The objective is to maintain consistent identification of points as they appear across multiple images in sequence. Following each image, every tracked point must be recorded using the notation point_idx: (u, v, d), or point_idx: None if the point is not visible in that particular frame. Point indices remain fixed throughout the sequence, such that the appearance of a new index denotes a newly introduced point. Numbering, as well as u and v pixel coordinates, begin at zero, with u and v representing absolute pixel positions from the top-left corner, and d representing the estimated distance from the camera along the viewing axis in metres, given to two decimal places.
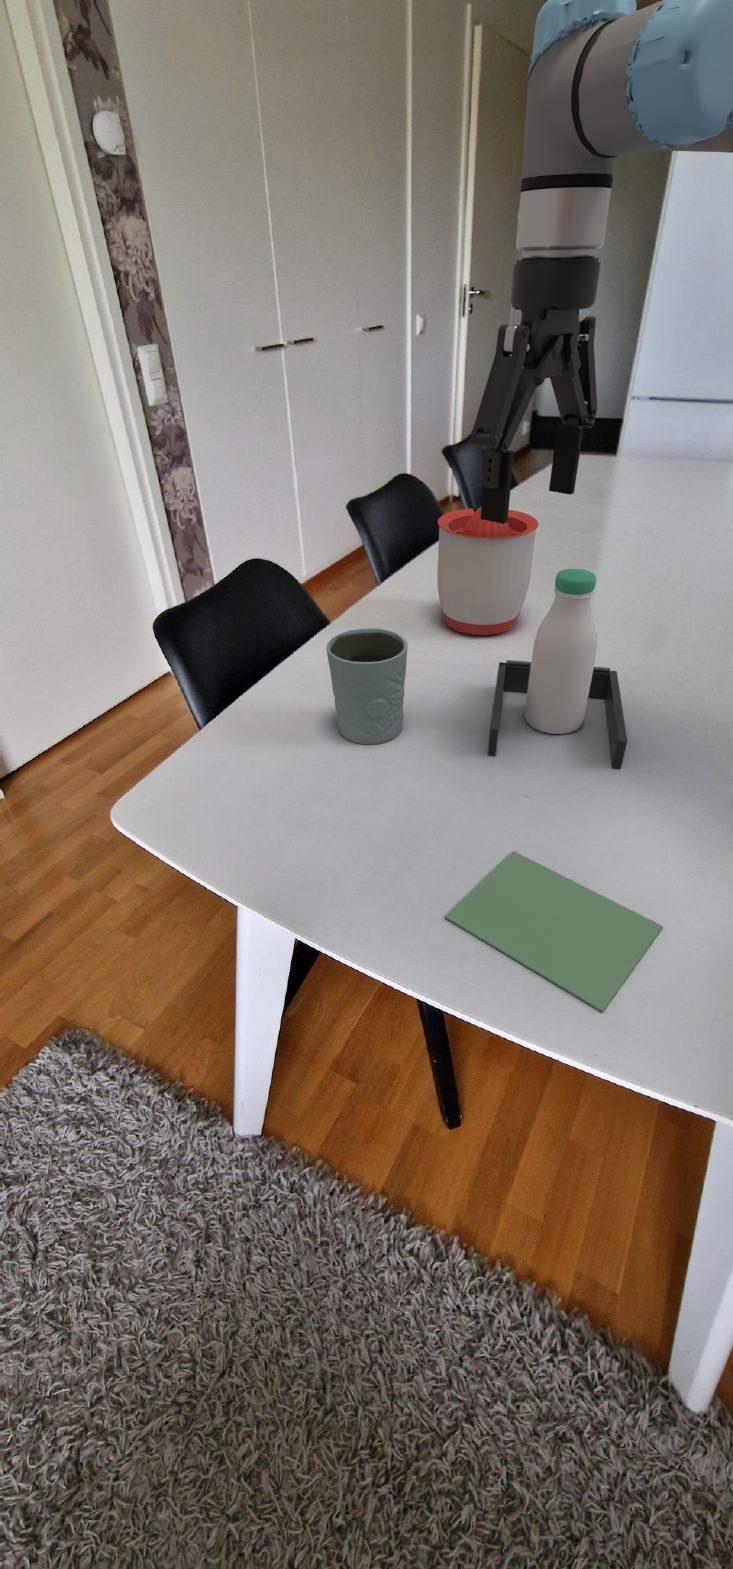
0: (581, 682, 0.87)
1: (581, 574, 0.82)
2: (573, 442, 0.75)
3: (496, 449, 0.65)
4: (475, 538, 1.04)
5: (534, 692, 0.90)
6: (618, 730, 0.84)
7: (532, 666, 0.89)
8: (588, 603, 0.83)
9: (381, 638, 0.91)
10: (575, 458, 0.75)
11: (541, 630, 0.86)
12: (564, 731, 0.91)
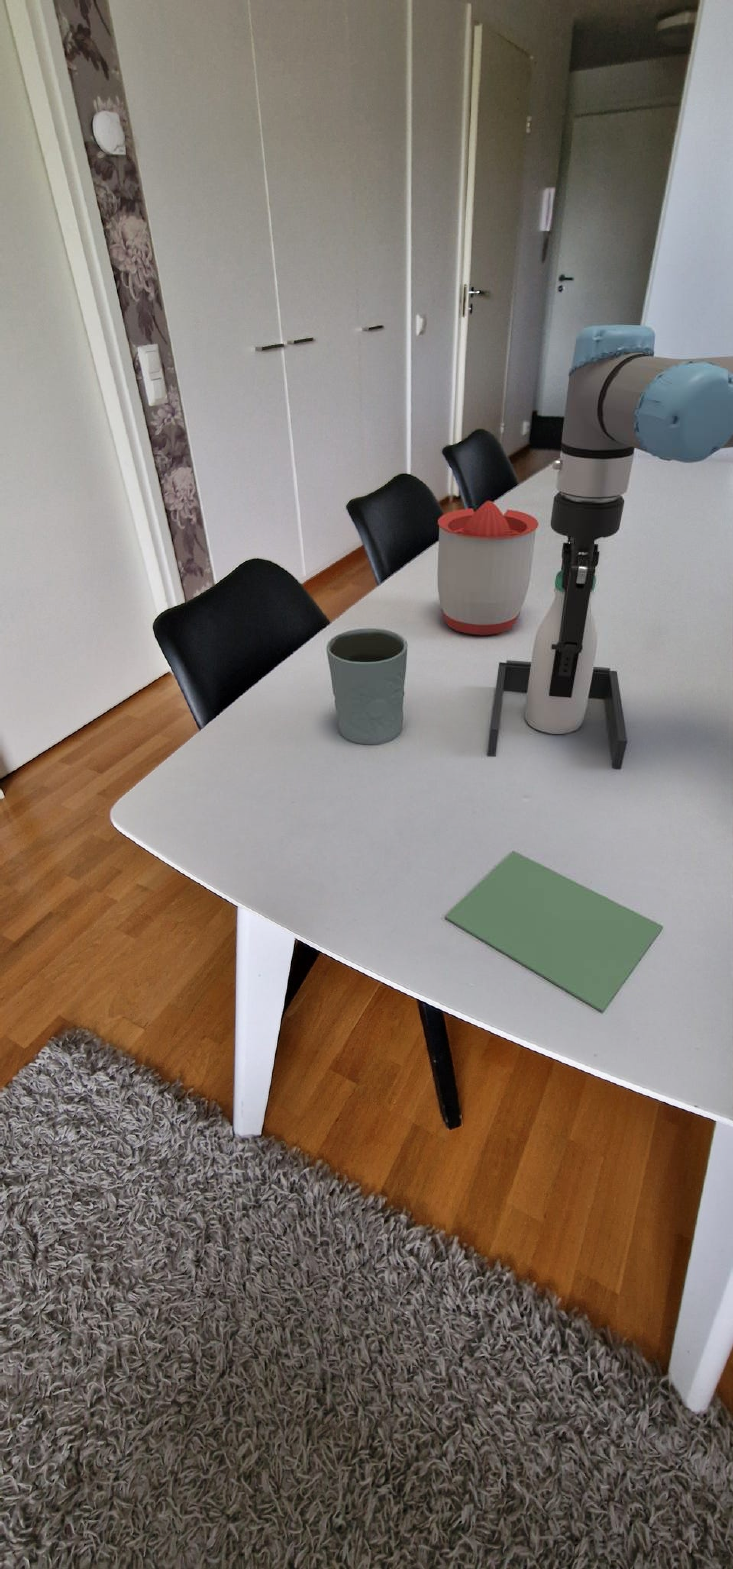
0: (581, 682, 0.87)
1: None
2: None
3: None
4: (475, 538, 1.04)
5: (534, 692, 0.90)
6: (618, 730, 0.84)
7: (532, 666, 0.89)
8: None
9: (381, 638, 0.91)
10: None
11: (541, 630, 0.86)
12: (564, 731, 0.91)
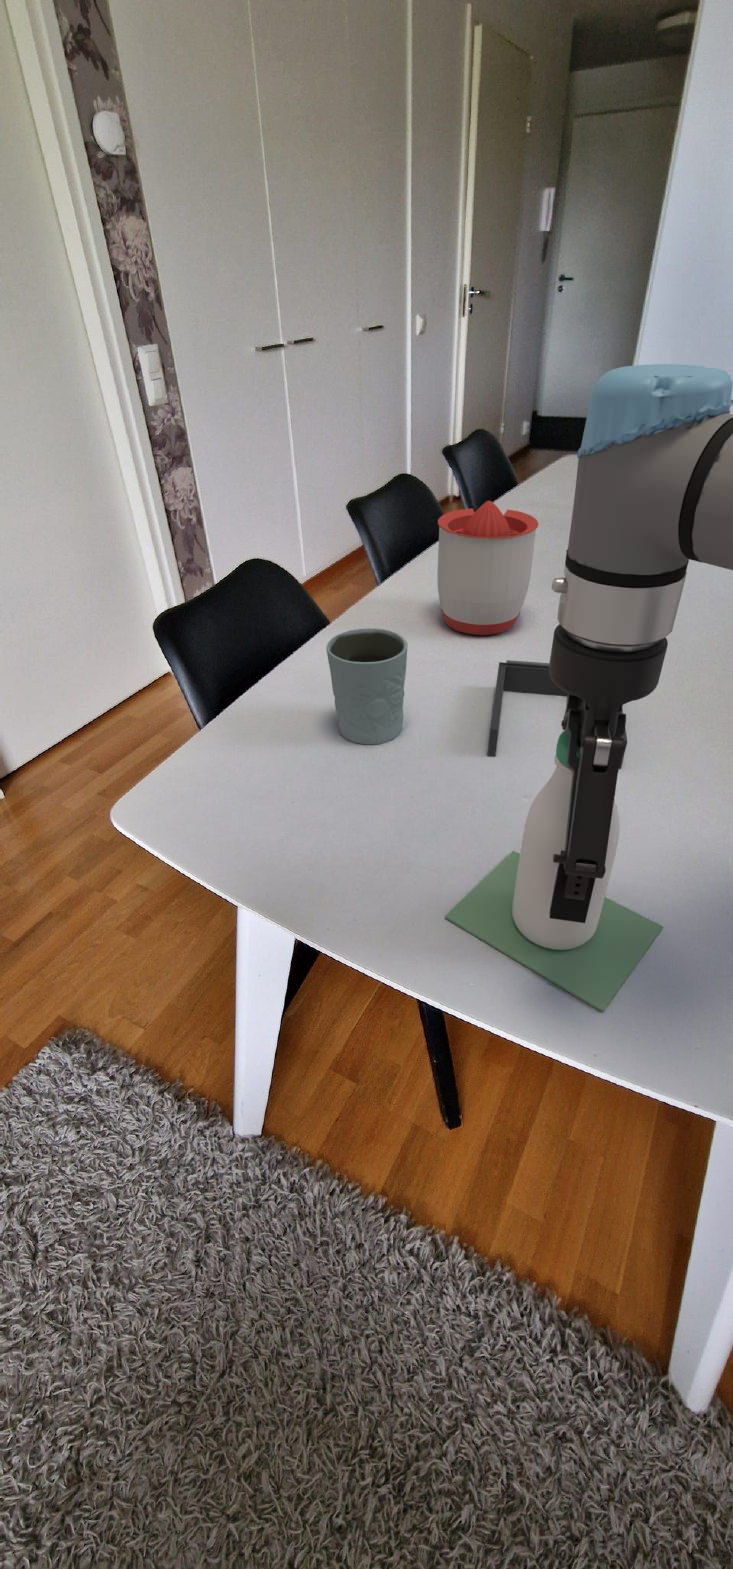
0: (595, 888, 0.58)
1: None
2: None
3: None
4: (475, 538, 1.04)
5: (525, 893, 0.61)
6: None
7: (522, 857, 0.60)
8: None
9: (381, 638, 0.91)
10: None
11: (535, 813, 0.57)
12: (569, 947, 0.62)
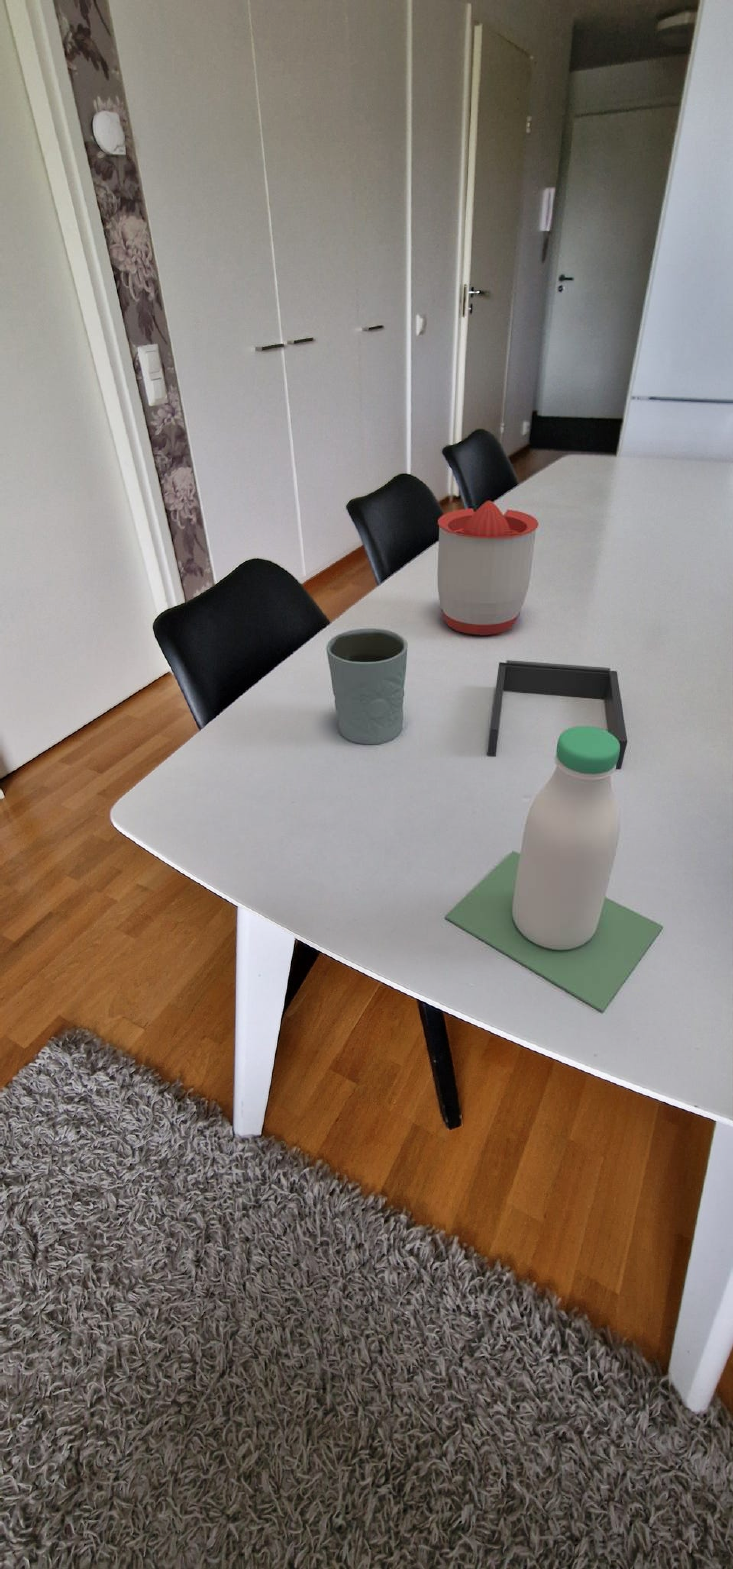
0: (595, 888, 0.58)
1: (597, 740, 0.53)
2: None
3: None
4: (475, 538, 1.04)
5: (525, 893, 0.61)
6: (618, 730, 0.84)
7: (522, 857, 0.60)
8: (607, 782, 0.54)
9: (381, 638, 0.91)
10: None
11: (535, 813, 0.57)
12: (569, 947, 0.62)
